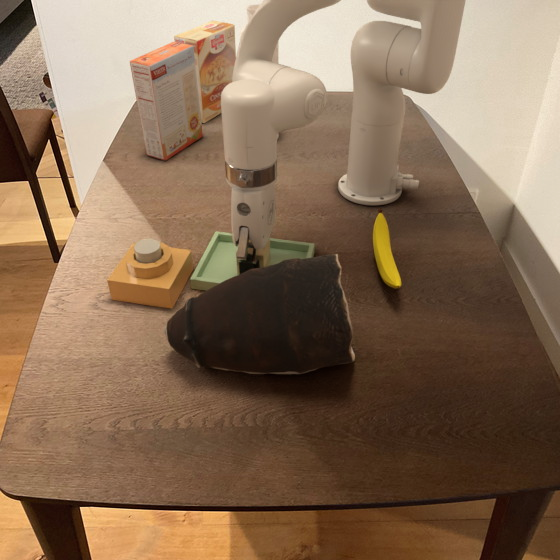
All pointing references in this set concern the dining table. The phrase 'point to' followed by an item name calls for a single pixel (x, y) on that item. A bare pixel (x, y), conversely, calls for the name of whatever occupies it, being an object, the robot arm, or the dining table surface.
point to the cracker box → (167, 99)
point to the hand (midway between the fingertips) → (254, 266)
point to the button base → (151, 278)
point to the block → (259, 256)
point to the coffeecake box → (211, 62)
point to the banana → (384, 252)
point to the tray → (223, 263)
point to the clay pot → (268, 320)
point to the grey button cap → (148, 251)
